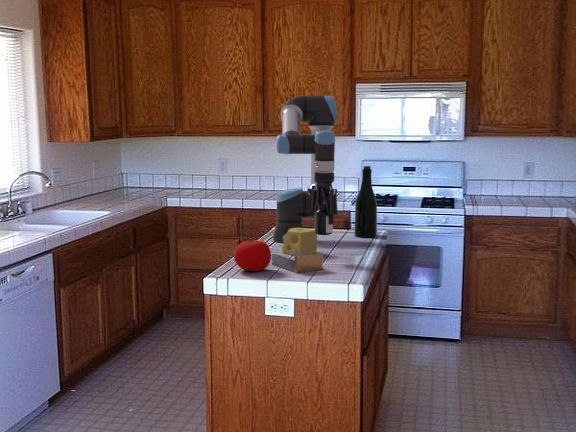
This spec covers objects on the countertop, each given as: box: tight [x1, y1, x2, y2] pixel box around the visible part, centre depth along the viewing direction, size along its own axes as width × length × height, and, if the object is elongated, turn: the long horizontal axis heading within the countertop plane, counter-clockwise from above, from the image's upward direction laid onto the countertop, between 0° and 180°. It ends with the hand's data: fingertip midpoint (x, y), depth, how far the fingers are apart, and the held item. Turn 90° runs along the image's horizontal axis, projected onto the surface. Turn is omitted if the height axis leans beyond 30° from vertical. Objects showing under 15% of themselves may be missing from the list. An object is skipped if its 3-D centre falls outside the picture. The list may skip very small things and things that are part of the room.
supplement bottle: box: [314, 202, 333, 236], centre depth 264 cm, size 7×7×12 cm
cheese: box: [281, 228, 318, 256], centre depth 281 cm, size 10×11×10 cm
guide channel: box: [271, 251, 324, 274], centre depth 256 cm, size 17×11×6 cm, turn 32°
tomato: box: [233, 238, 272, 272], centre depth 250 cm, size 12×14×12 cm
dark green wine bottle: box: [353, 165, 378, 239], centre depth 320 cm, size 10×10×33 cm
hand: (323, 230), depth 265 cm, fingers closed on supplement bottle, 7 cm apart
